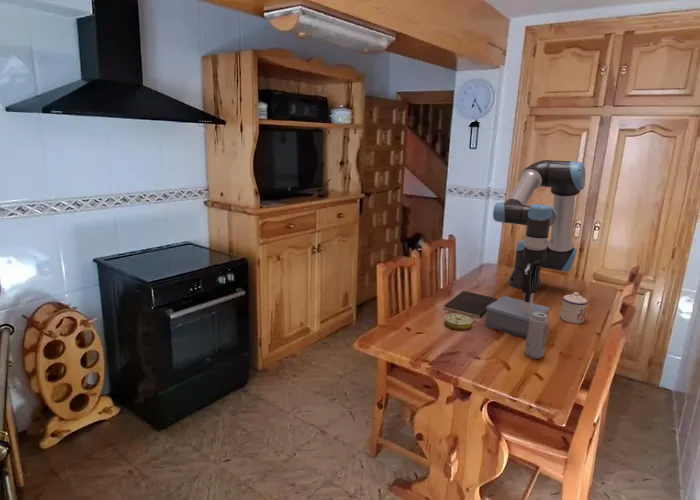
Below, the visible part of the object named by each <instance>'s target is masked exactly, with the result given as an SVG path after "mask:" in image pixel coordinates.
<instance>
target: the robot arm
mask: <svg viewBox="0 0 700 500" xmlns="http://www.w3.org/2000/svg"><path fill="white" fill-rule="evenodd" d="M585 167H586V166H585V165H584V163H583V162H581V161H574V160H550V159H544V160H538V161H536V162H533V163H531V164H530V165H528V166H526V168H524V169H523V170H522V171H521V172H520V174H519V176H518V181H517V183H516V185H515V186H514V188H513V189H512V191H511V192H510V194H509V196H508V197H507V199H506V200H505V201H504V202H497V203H495V204H494V207H493V212H492V216H493V217H492V218H493V220H494V221H495V222H498V223H503V224H512V225H514V224H515V225H521V226H526V230H525V236H524V237H525V238H524V239H521V240H519V241H518V242H517V244H516V245H517V246H516V249H515V257H514V258H515V259H514V267H513V270H512V273H511V274H510V276H509V278H508V285H510V286H512V287H514V288H517V289H522V291H521V292H522V293H524V295H523V301H524V302H523V309H525V310H528V311H530V310H531V309H532V303H533V301H534V294H537V290H540V289H541V287H542V279H541V275H540V273H541V270H542V269H548V270H554V271H559V272H566V273H567V272H570V271H571V270H572V268H573V265H574V262H575V259H576V256H577V252H578V249H577V248H576V247H575V245H574V242H573V241H572V232H573V222H574V214H575V203H576V196H578V195H579V194H580V193H581V191H582V190H584V189H585V185H586V168H585ZM540 187H544V188H550V193H551V195H553V204H552V205H553V207H552V206H551V205H548V204H543V203H542V204H541V203H535V204H530V205H527V204H528V202H529V201H530V199H531V197H532V195H533V194H534V192H535V191H536V190H537V189H538V188H540ZM550 227H551V230H550ZM549 233H550V239H549Z"/></svg>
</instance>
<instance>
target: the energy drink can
mask: <svg viewBox="0 0 700 500" xmlns="http://www.w3.org/2000/svg"><path fill="white" fill-rule="evenodd" d="M549 323H550V321H549V314H548V315H547V314H545V313H542V312H533V313H532V315H531V316H530V318H529V326H528V333H527V339H526V340H525V349H524V352H525V354H526V356H527V357H528V358H531V359H537V360H539V359H542V357H544V356H545V349H546V344H547V343H546V342H547V336H548V330H549V329H548V328H549Z"/></svg>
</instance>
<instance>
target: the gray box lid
mask: <svg viewBox="0 0 700 500" xmlns="http://www.w3.org/2000/svg"><path fill="white" fill-rule="evenodd" d="M523 302H524V300H521V299H518V298H515V297H510V296H507V295H503V296H501V297H500V298H499V299H498V298H497V301H495V302H493V303H492V304H490V305H488V306H487V308H486V309H487V310H490V311H494V312H497V313H501V314H504V315H508V316H511V317H515V318H518V319H521V320H525V321H528V322H529V318H530V316H531V315H532V313H533V312H542V313H545V314H546V313H547V312H550V311H551V307H547V306H544V305H541V304H536V303H533V302H532V309H531V310H530V311H528V310H525V309H523Z"/></svg>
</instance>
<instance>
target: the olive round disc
mask: <svg viewBox="0 0 700 500" xmlns="http://www.w3.org/2000/svg"><path fill="white" fill-rule="evenodd" d="M444 321H445V322H444V323H445V324H446V326H448V328H450V329H454V330H456V331H466V330H469V329H470V328H472V326H473V325H474V320H473V318H472V317H471V316H469V315H465V314H461V313H449V314H447V315H446V316H445V317H444Z"/></svg>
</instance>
